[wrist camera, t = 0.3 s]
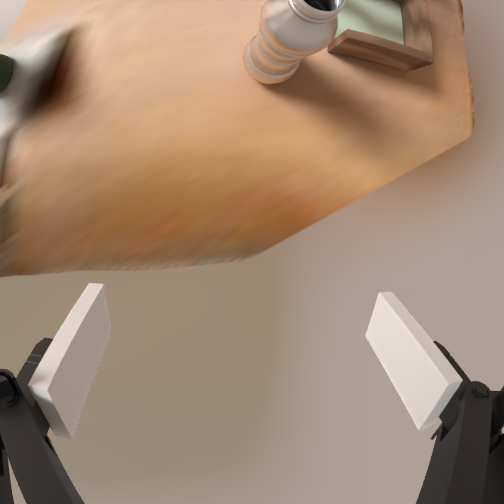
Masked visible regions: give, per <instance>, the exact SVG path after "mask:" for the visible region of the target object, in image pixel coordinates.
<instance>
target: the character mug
mask: <svg viewBox="0 0 504 504" xmlns="http://www.w3.org/2000/svg"><path fill="white" fill-rule="evenodd" d="M11 73H12V62H11V60H10V59H9V57H8V56H5V55H2V54H0V92H1V91H2V90H3V89H4V88H5V86H6V85H7V83H8V82H9V80H10V76H11Z"/></svg>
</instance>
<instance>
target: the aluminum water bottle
mask: <svg viewBox="0 0 504 504" xmlns="http://www.w3.org/2000/svg"><path fill="white" fill-rule="evenodd" d="M345 3H346V0H267V1H266V2H265V3H264V5H263V7H262V11H261V15H260V28H259V32H258V34H257V35H256V36H255V37H254V38H253V39H252V40H251V41H250V42H249V43H248V44H247V46H246V48H245V51H244V64H245V68H246V70H247V72H248V73H249V75H250V76H251V77H252V78H254V79H255V80H257V81H259V82H261V83H265V84H276V83H281V82H283V81H286V80H287V79H289V78H290V77H291V76H292V75H294V73H295V72H296V70H297V68H298V66H299V64H300V61H301V60H302V59H304V58H305V57H307V56H310V55H312V54H314V53H317V52H319V51H321V50H322V49H324V48H326V47H327V46H328V45H329V44H330V43H331V42H332V40H333V39H334V37H335V34H336V31H337V28H338V16H337V15H338V13H339V11H340V10H341V9H342V8H343V7H344V5H345Z"/></svg>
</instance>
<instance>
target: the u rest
mask: <svg viewBox="0 0 504 504" xmlns="http://www.w3.org/2000/svg"><path fill="white" fill-rule="evenodd" d="M337 16H338V28H337V31H336V34H335V37H334V39H333V40H332V42H331V43H330V44H329V45H328V52H329V53H334V54H339V55H344V56H349V57H353V58H358V59H362V60H366V61H370V62H374V63H378V64H382V65H385V66H389V67H393V68H396V69H399V70H403V71H406V72H407V71H410V70H413V69H417V68H420V67H423V66H427V65H430V64H433V51H432V39H431V30H430V22H429V14H428V7H427V1H426V0H346V3H345V5H344V7H343V8H342V9H341V10H340V11H339V13H338V15H337Z"/></svg>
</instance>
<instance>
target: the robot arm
mask: <svg viewBox="0 0 504 504" xmlns="http://www.w3.org/2000/svg"><path fill="white" fill-rule="evenodd" d="M111 334H112V329H111V324H110V318H109V313H108V307H107V302H106V295H105V288H104V284H95V283H89V284H88V286H87V287H86V289H85V290H84V292H83V293H82V295H81V296H80V298H79V299H78V301H77V302H76V304H75V305H74V307H73V308H72V310H71V312H70V313H69V315H68V316H67V318H66V319H65V321H64V323H63V324H62V326H61V328H60V329H59V331H58V333H57V334H56V336H55V338H54V339H50V338H44V339H43V340H41V341H40V342H39V343H38V344H36V346H35V348H34V349H33V351H32V352H31V355H30V356H29V357H28V359H27V362H25V364H24V366H23V367H22V369H21V371H20V372H19V374H18V376H17V378H15V377H14V375H13V373H12V372H10V371H9V370H6V369H0V504H14V501H13V495H12V489H11V482H10V474H9V466H8V458H9V461H10V464H11V467H12V470H13V472H14V475H15V477H16V480H17V482H18V485H19V487H20V490H21V492H22V494H23V496H24V499H25V501H26V503H27V504H84V502H83V501H82V499H81V497H80V495H79V494H78V492H77V490H76V489H75V487H74V486H73V484H72V482H71V480H70V478H69V476H68V475H67V473H66V471H65V469H64V467H63V465H62V463H61V462H60V459H59V457H58V455H57V454H56V451H55V449H54V447H53V445H52V443H51V441H50V439H49V437H48V436H47V432H48V430H49V427H50V428H51V429H52V431H53V433H54V434H55V435H56V436H61V437H65V438H69V439H73V437H74V434H75V431H76V428H77V425H78V422H79V419H80V416H81V413H82V410H83V407H84V404H85V401H86V398H87V396H88V393H89V390H90V387H91V385H92V382H93V379H94V377H95V374H96V371H97V369H98V366H99V363H100V361H101V358H102V356H103V353H104V351H105V348H106V346H107V343H108V341H109V338H110V336H111ZM365 336H366V338H367V340H368V342H369V343H370V345H371V346H372V348H373V350H374V352H375V353H376V355H377V357H378V359H379V360H380V362H381V364H382V366H383V367H384V369H385V371H386V372H387V374H388V376H389V378H390V380H391V381H392V383H393V385H394V386H395V388H396V390H397V392H398V394H399V395H400V397H401V399H402V401H403V403H404V404H405V406H406V408H407V410H408V412H409V413H410V415H411V417H412V419H413V421H414V423H415V425H416V427H417V428H418V430H422V429H425V428H428V427H432V426H433V425H434V423H435V422H436V421H437V419H438V418H440V419H441V421H442V423H441V425H440V426H439V428H438V429H437V430H436V432H435V433H434V434H433V436H432V438H431V439H432V440H433V439H434V437H435V436H436V435H437V438H436V441H435V445H434V449H433V453H432V456H431V460H430V463H429V466H428V470H427V473H426V476H425V480H424V482H423V485H422V488H421V491H420V494H419V497H418V499H417V502H416V504H504V434H502V431H501V429H502V428H503V427H504V386H503V388H502V389H501V391H490V390H489V388H488V387H487V386H486V385H485V384H483V383H481V382H477V381H473V382H471V381H470V379H469V378H468V377H467V375H466V374H465V373H464V371H463V370H462V369H461V368H460V366H459V365H458V364H457V363H456V362H455V360H454V359H453V357H452V356H450V354H449V352H448V351H447V350H446V349H445V347H443V346H442V345H441V344H439V343H438V342H436V341H432V340H431V338H430V337H429V336H428V335H427V334H426V332H425V331H424V330H423V329H422V327H421V326H420V325H419V324H418V322H417V321H416V320H415V319H414V318H413V316H412V315H411V314H410V313H409V312H408V310H407V309H406V308H405V307H404V306H403V304H402V303H401V302H400V301H399V300H398V299H397V297H396V296H395V295H394V294H393V293H392V292H379V294H378V297H377V301H376V304H375V307H374V311H373V314H372V317H371V320H370V323H369V326H368V329H367V332H366V335H365ZM7 455H8V456H7Z"/></svg>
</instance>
